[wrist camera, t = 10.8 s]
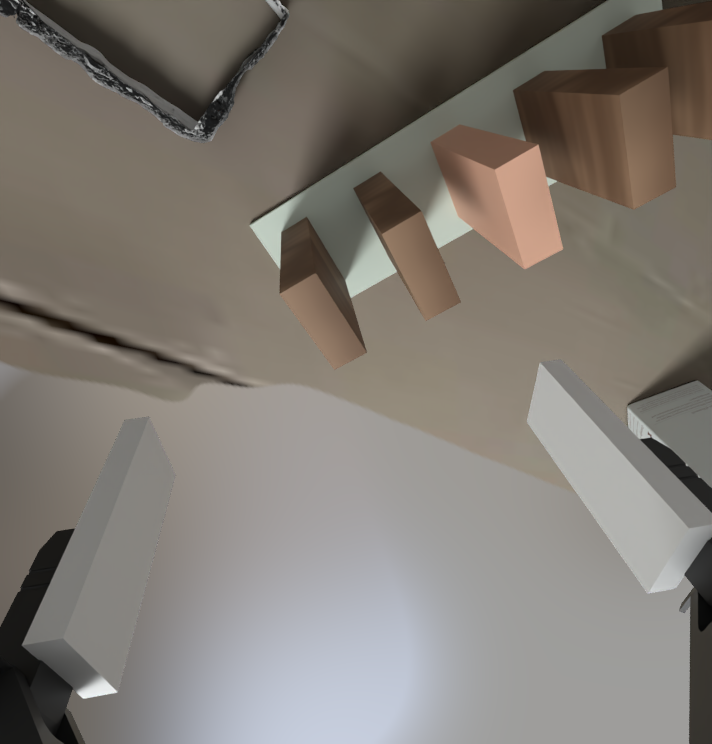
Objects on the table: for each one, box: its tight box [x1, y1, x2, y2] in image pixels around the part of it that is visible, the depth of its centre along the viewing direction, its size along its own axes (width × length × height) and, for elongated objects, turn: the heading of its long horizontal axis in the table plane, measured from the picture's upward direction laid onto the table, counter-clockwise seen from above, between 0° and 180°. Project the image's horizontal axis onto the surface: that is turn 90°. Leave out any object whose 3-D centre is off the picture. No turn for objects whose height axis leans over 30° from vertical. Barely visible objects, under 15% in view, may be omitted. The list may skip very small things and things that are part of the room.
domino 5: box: [602, 1, 712, 140], centre depth 22 cm, size 2×5×10 cm, turn 29°
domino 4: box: [513, 67, 676, 209], centre depth 23 cm, size 2×5×10 cm, turn 29°
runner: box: [250, 0, 662, 298], centre depth 28 cm, size 8×27×1 cm, turn 119°
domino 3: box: [430, 124, 563, 269], centre depth 24 cm, size 2×5×10 cm, turn 28°
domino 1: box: [280, 217, 367, 370], centre depth 26 cm, size 2×5×10 cm, turn 29°
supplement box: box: [627, 381, 712, 488], centre depth 39 cm, size 7×7×13 cm
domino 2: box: [353, 171, 461, 321], centre depth 25 cm, size 2×5×10 cm, turn 29°
